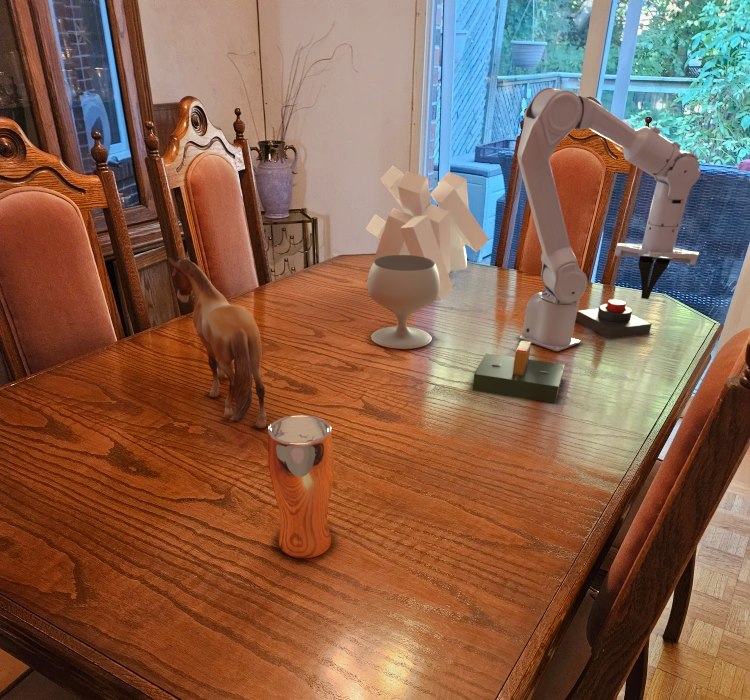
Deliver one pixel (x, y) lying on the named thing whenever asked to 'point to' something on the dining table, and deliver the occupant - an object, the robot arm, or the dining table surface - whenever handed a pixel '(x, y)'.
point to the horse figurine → (224, 339)
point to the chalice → (403, 296)
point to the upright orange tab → (521, 358)
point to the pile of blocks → (428, 223)
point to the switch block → (613, 322)
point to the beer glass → (302, 482)
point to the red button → (616, 305)
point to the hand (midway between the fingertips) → (645, 297)
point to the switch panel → (518, 378)
